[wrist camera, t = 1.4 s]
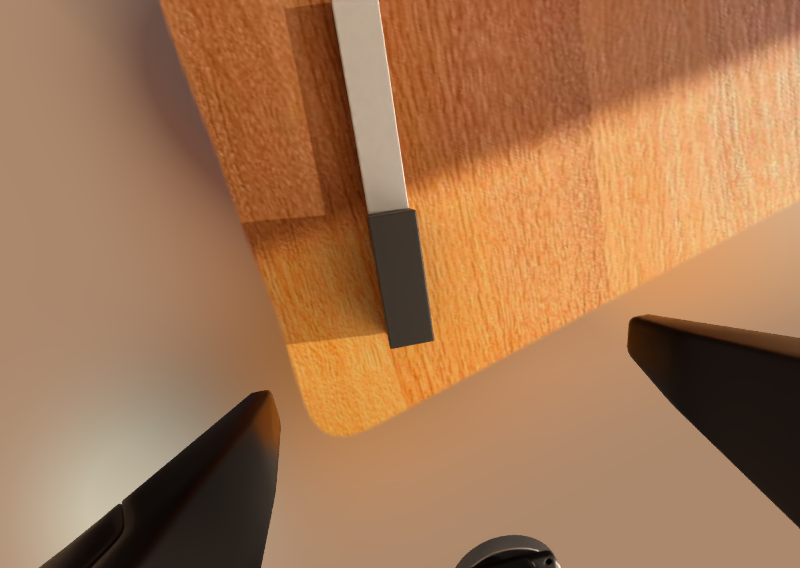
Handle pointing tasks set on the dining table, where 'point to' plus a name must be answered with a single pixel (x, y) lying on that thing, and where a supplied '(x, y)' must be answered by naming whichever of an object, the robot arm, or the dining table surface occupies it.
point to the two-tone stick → (383, 173)
